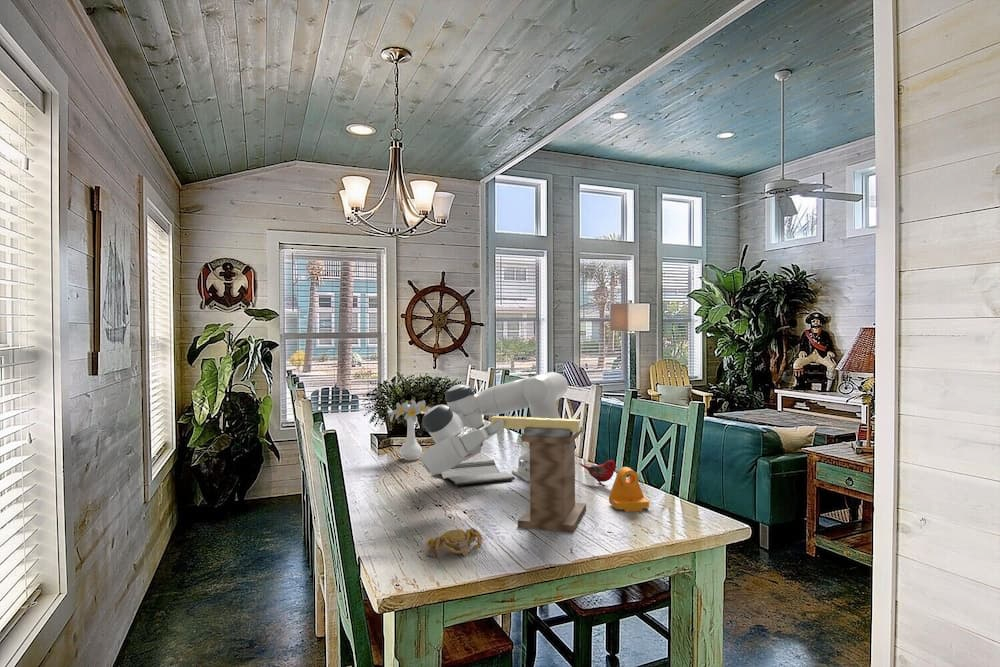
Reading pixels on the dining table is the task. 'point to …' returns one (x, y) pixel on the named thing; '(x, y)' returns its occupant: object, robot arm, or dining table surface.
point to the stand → (552, 481)
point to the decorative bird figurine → (601, 471)
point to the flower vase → (410, 426)
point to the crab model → (455, 541)
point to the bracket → (627, 492)
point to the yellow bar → (538, 423)
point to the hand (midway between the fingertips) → (506, 420)
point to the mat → (475, 472)
